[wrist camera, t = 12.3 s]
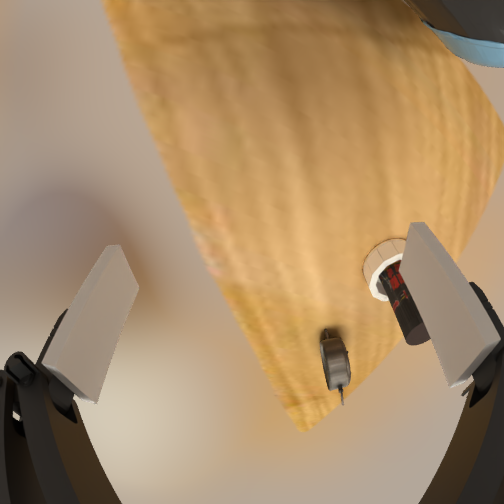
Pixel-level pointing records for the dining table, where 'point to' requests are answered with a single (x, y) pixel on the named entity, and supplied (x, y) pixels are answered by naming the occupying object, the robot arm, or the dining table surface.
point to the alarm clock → (335, 363)
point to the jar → (381, 264)
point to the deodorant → (403, 305)
